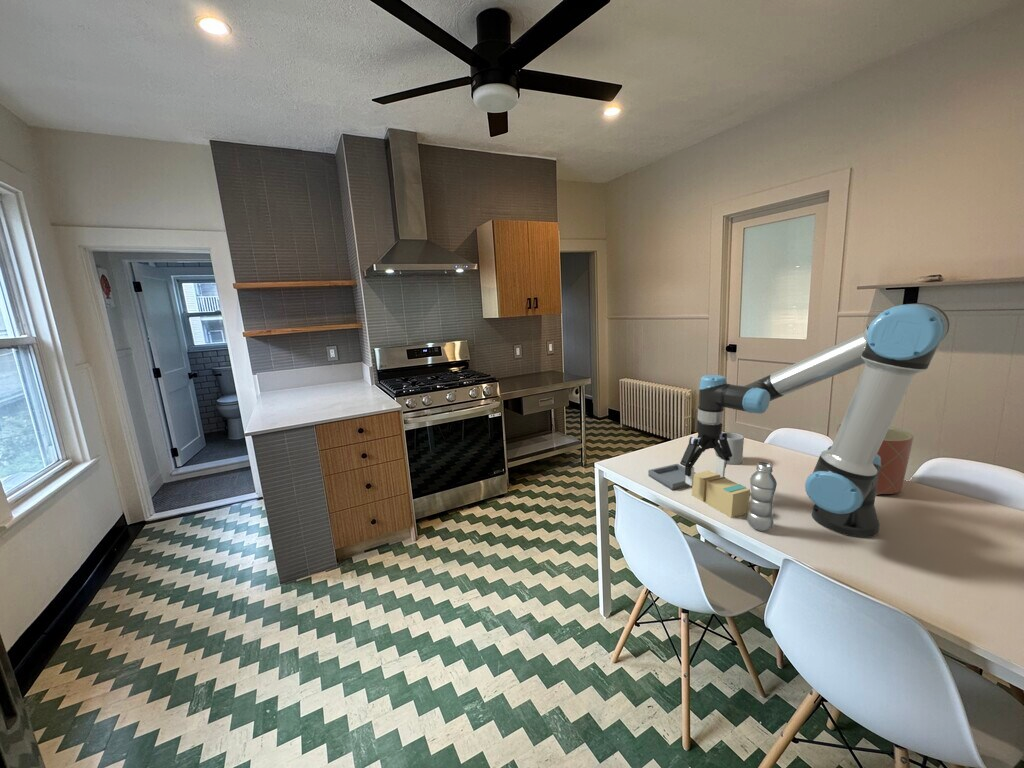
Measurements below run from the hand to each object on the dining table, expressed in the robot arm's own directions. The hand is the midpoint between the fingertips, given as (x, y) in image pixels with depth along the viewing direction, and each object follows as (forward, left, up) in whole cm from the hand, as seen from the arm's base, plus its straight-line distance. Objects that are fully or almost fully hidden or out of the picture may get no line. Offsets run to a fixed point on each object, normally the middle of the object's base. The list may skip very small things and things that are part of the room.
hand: (704, 480), depth 133 cm
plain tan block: (0, 0, -6) cm, 6 cm away
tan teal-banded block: (-9, 0, -6) cm, 11 cm away
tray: (+14, 0, -6) cm, 15 cm away
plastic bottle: (-21, 0, -6) cm, 22 cm away
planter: (-17, -56, -6) cm, 58 cm away
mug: (+18, -31, -6) cm, 36 cm away
